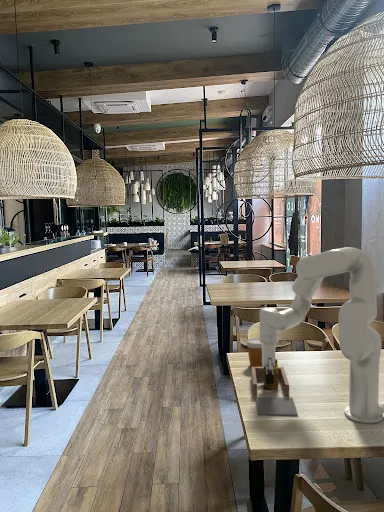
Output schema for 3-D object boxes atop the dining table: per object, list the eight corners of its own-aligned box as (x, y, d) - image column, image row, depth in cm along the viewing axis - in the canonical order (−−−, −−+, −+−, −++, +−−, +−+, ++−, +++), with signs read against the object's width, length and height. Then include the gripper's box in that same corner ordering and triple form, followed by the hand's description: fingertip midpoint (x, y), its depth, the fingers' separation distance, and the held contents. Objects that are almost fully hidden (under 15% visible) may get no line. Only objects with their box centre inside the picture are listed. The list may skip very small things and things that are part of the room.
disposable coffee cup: (245, 362, 204) (245, 338, 203) (265, 362, 203) (265, 338, 202) (247, 369, 194) (247, 344, 193) (268, 369, 194) (267, 343, 193)
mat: (292, 399, 161) (292, 397, 161) (297, 416, 147) (297, 414, 147) (256, 398, 162) (256, 397, 162) (257, 415, 148) (257, 413, 148)
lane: (283, 378, 182) (283, 367, 182) (289, 397, 163) (289, 384, 162) (251, 377, 184) (251, 366, 183) (253, 396, 164) (253, 384, 164)
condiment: (283, 388, 171) (282, 360, 170) (268, 393, 167) (267, 364, 166) (270, 382, 178) (270, 355, 177) (255, 387, 173) (255, 359, 172)
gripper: (258, 332, 180) (258, 372, 181) (260, 344, 163) (261, 388, 164) (276, 332, 179) (276, 372, 181) (280, 344, 162) (280, 389, 163)
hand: (269, 379), depth 172 cm, fingers closed on condiment, 6 cm apart
